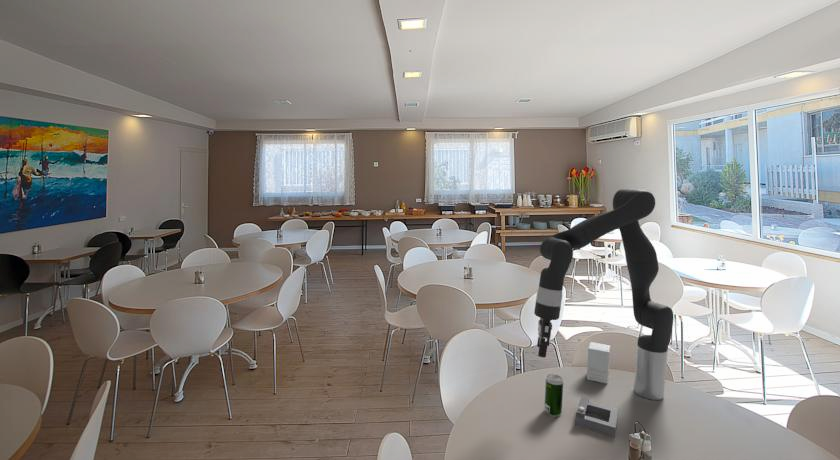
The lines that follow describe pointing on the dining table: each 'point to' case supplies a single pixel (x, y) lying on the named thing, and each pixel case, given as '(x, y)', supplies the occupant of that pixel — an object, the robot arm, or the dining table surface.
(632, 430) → the dining table surface
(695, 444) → the dining table surface
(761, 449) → the dining table surface
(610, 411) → the grey square frame
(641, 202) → the robot arm
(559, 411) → the beer can
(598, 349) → the supplement box
